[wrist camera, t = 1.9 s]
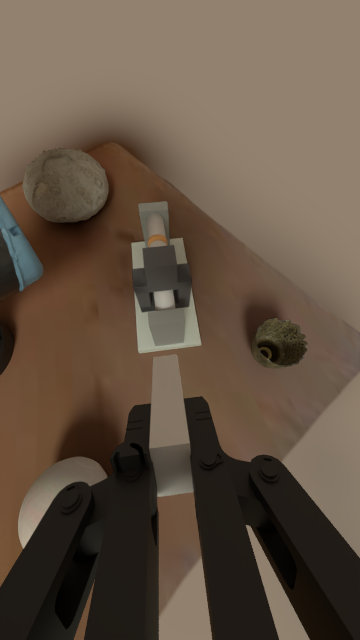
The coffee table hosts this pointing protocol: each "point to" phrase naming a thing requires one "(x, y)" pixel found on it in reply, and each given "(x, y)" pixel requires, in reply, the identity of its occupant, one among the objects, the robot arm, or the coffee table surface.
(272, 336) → the cup
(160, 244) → the pipe stand
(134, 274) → the collar
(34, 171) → the grey stone
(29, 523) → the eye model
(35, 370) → the coffee table surface
